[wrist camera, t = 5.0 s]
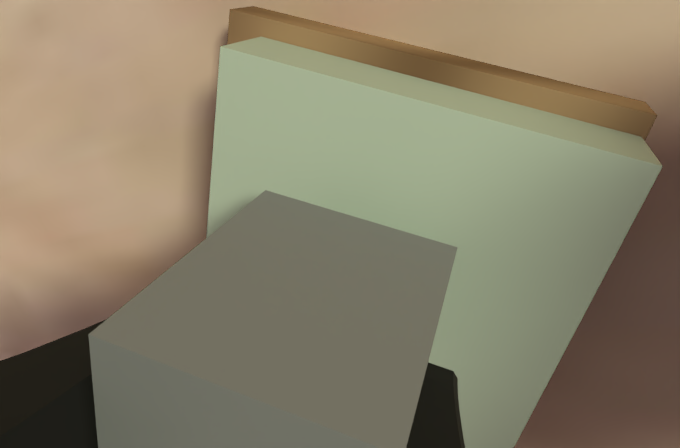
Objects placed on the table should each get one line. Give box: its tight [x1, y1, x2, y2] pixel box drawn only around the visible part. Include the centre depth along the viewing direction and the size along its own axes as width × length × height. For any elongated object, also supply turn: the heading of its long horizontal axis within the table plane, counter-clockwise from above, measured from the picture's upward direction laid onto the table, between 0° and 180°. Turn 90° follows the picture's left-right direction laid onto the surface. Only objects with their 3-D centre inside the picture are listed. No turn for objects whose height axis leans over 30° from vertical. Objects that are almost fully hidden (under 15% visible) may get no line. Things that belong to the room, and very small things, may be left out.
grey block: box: [88, 190, 458, 448], centre depth 9 cm, size 4×4×5 cm
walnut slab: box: [227, 6, 657, 141], centre depth 15 cm, size 10×10×2 cm
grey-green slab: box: [206, 37, 663, 448], centre depth 13 cm, size 9×9×2 cm
